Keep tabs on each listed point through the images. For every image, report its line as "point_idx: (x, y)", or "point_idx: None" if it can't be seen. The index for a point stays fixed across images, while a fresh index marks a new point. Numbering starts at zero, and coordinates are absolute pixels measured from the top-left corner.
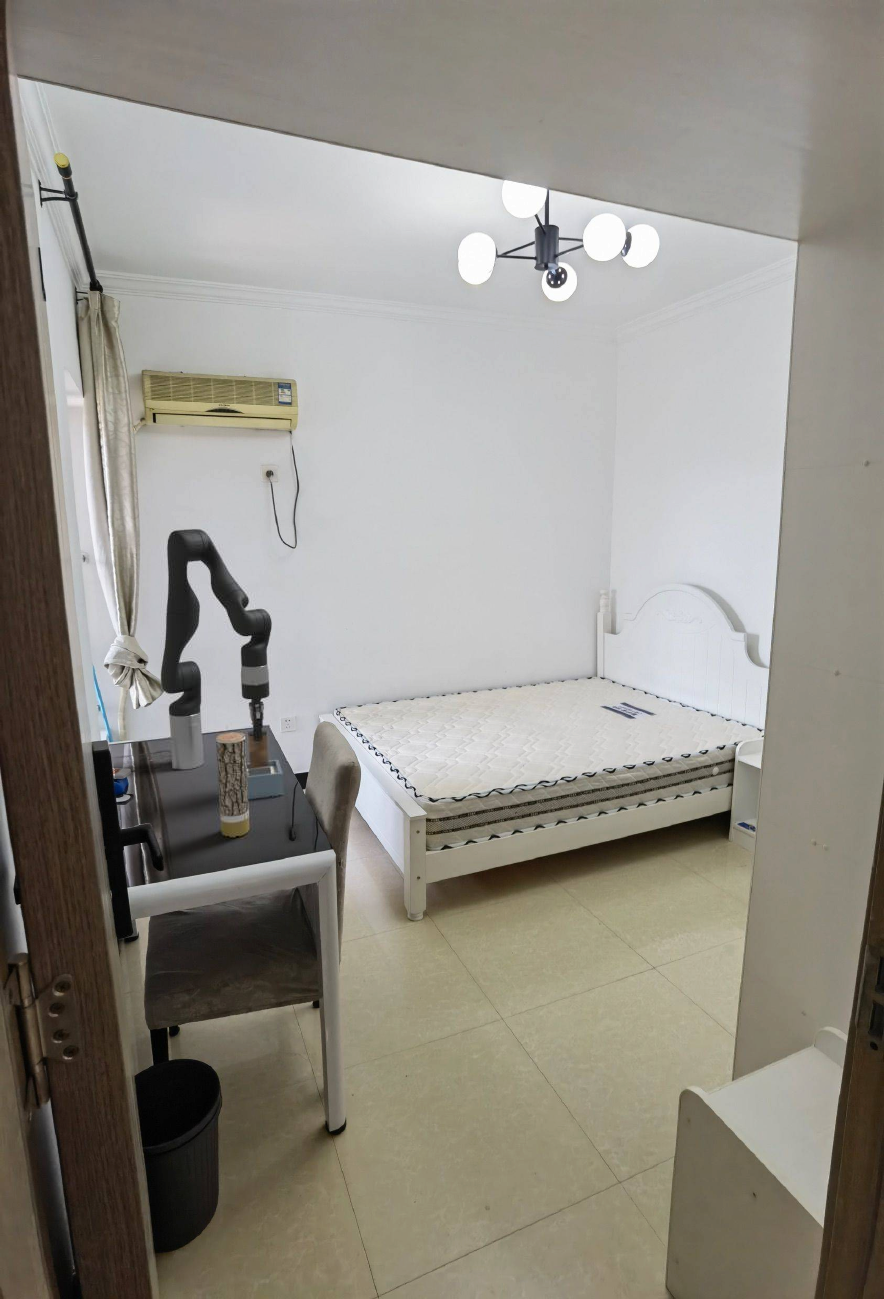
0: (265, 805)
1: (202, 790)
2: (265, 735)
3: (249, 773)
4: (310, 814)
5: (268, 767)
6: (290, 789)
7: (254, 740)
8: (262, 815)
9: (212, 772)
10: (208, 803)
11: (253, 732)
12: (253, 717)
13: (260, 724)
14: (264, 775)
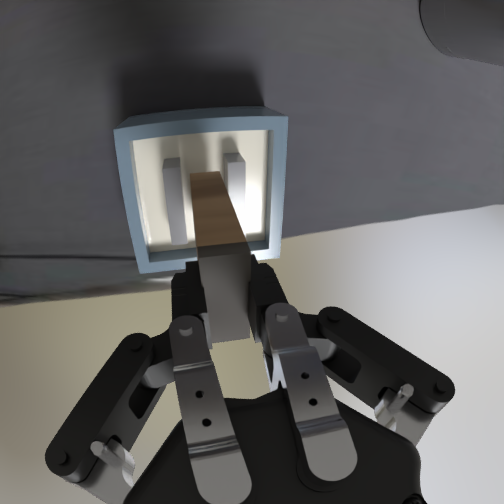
0: (84, 192)
1: (252, 5)
2: None
3: (163, 165)
4: (41, 287)
5: (172, 238)
6: None
7: (186, 262)
8: (29, 190)
9: (386, 54)
10: (133, 27)
11: (222, 284)
12: (84, 427)
13: (139, 387)
14: (128, 220)
